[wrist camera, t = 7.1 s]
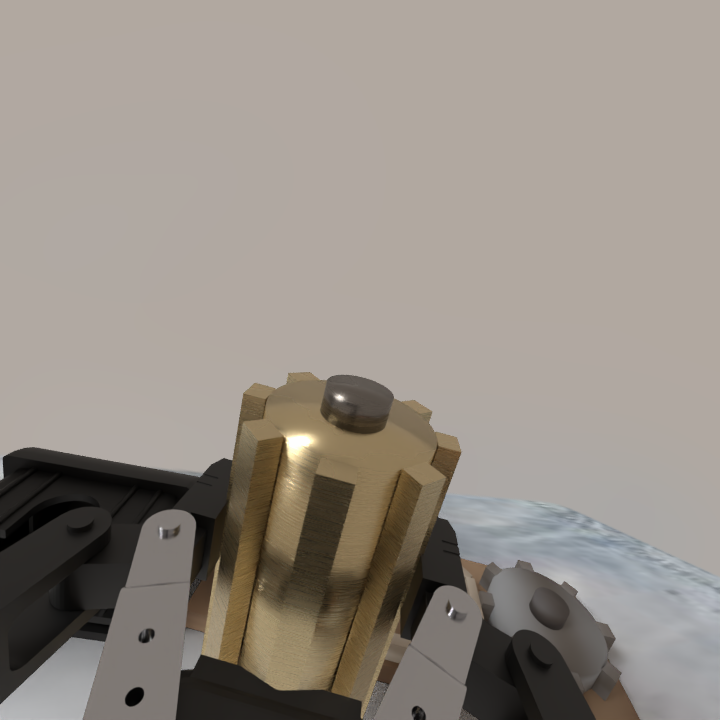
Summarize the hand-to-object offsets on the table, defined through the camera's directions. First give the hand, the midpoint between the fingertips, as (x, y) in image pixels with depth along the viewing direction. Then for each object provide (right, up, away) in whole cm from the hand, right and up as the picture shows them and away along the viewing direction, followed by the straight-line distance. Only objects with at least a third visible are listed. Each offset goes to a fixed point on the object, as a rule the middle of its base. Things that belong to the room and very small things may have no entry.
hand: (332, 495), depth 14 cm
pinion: (-2, -7, 0) cm, 7 cm away
